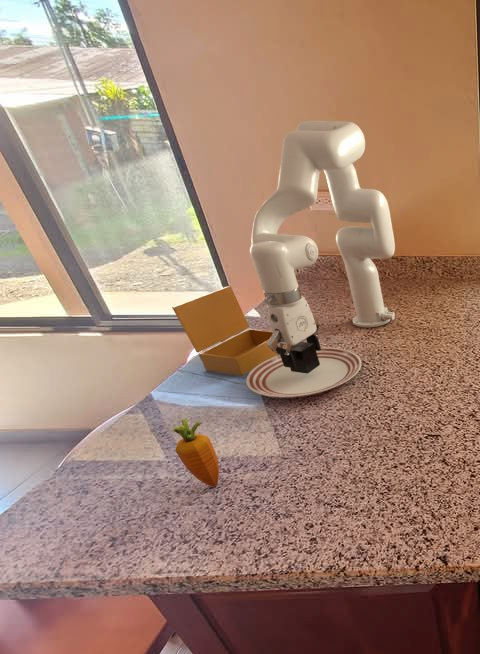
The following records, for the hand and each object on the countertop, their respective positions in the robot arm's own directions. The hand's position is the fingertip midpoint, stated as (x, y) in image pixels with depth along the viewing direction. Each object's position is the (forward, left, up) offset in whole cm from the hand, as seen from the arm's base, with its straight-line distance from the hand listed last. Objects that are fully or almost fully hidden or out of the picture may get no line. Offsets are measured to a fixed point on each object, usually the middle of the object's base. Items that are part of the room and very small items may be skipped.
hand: (303, 358), depth 111 cm
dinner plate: (0, 0, -6) cm, 6 cm away
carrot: (-9, +39, -6) cm, 41 cm away
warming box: (+23, -5, -6) cm, 25 cm away
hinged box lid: (+29, -5, +6) cm, 30 cm away
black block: (0, 0, -3) cm, 3 cm away
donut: (+35, -14, -6) cm, 38 cm away
